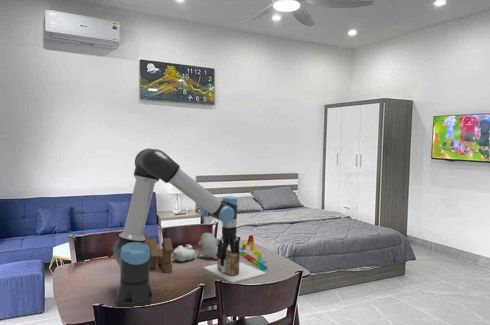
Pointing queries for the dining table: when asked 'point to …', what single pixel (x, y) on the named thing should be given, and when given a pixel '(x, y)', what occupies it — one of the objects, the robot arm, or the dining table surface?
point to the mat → (244, 274)
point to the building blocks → (160, 253)
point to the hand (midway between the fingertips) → (227, 270)
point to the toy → (208, 245)
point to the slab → (230, 263)
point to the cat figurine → (183, 253)
